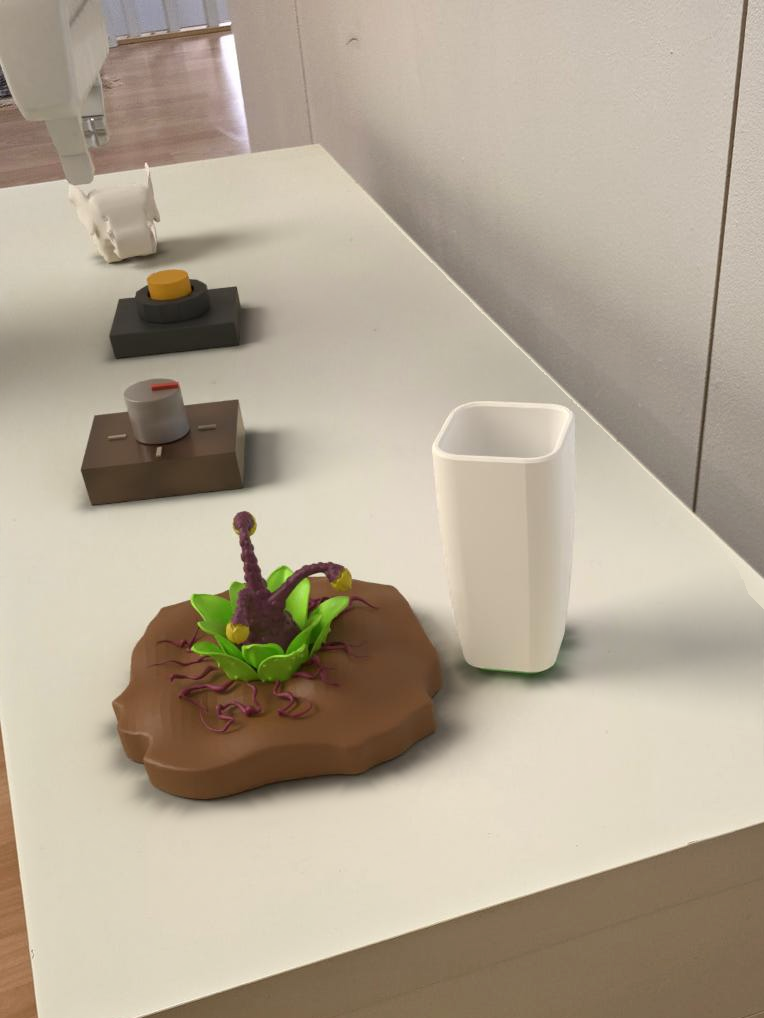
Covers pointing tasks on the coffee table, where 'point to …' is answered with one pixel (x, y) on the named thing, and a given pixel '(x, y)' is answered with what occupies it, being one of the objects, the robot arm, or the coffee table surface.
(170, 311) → the button housing
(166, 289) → the button
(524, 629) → the cup
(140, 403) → the dial
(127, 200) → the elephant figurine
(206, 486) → the dial panel
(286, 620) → the plant
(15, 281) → the coffee table surface
